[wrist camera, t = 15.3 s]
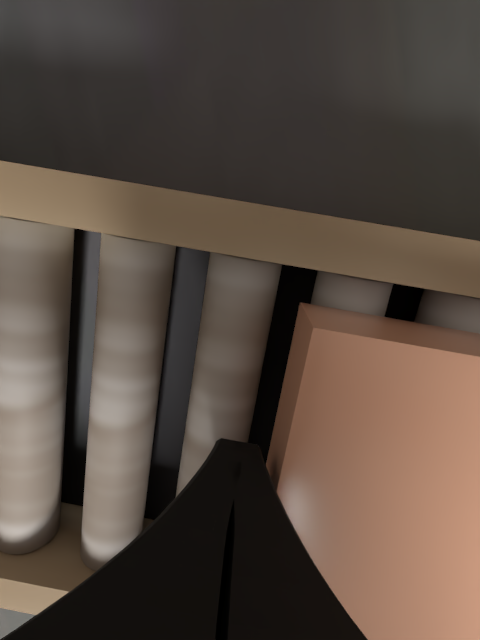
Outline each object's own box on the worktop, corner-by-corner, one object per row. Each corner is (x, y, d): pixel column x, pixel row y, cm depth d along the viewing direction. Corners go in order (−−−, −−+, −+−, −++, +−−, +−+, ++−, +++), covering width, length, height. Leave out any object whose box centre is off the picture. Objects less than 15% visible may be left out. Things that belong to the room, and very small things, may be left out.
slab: (562, 642, 11) (648, 759, 8) (241, 579, 11) (235, 675, 9) (703, 372, 9) (872, 425, 6) (299, 302, 9) (313, 327, 7)
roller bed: (644, 640, 14) (756, 760, 11) (-128, 490, 14) (-235, 560, 11) (841, 310, 10) (1084, 342, 7) (-164, 141, 11) (-327, 105, 8)
